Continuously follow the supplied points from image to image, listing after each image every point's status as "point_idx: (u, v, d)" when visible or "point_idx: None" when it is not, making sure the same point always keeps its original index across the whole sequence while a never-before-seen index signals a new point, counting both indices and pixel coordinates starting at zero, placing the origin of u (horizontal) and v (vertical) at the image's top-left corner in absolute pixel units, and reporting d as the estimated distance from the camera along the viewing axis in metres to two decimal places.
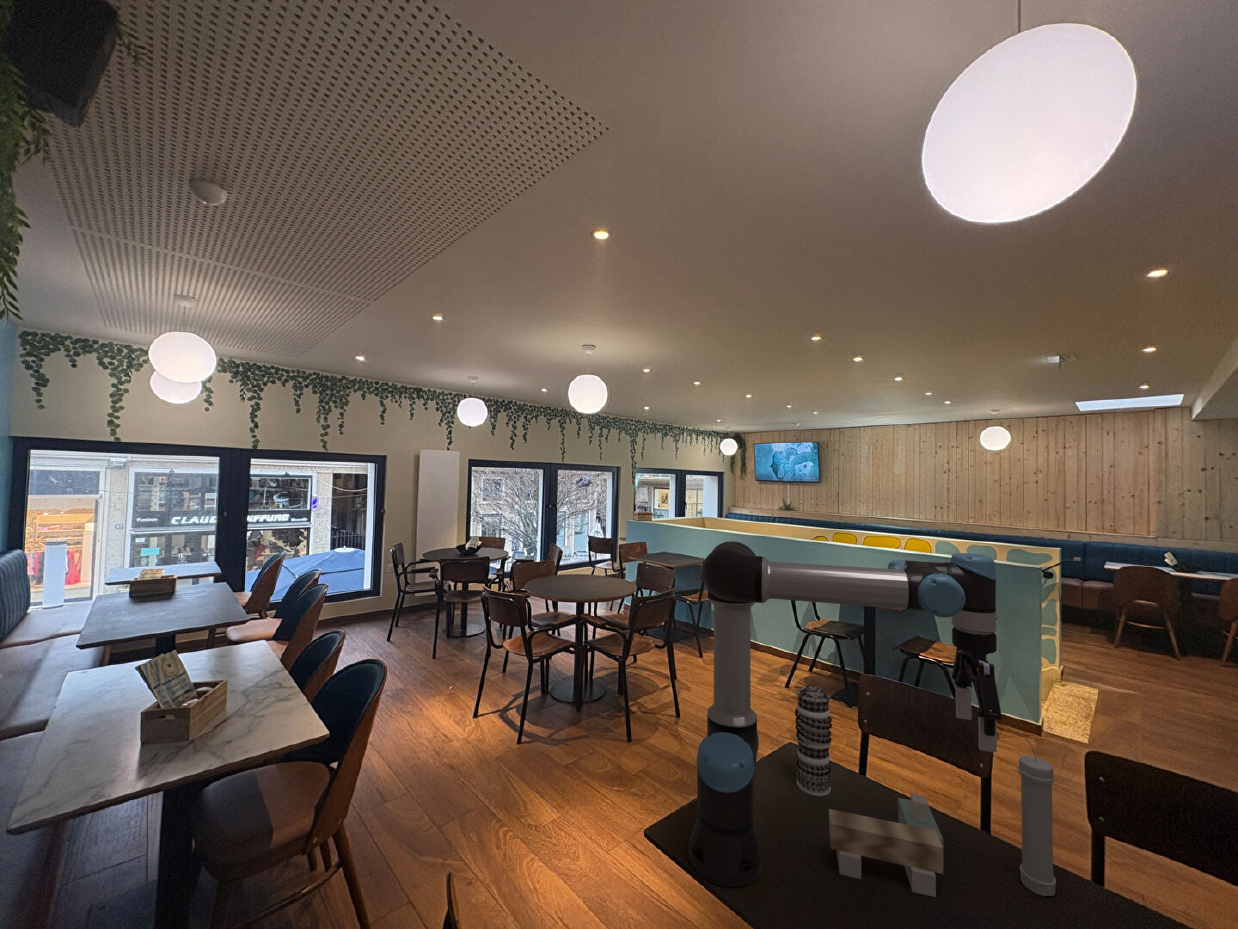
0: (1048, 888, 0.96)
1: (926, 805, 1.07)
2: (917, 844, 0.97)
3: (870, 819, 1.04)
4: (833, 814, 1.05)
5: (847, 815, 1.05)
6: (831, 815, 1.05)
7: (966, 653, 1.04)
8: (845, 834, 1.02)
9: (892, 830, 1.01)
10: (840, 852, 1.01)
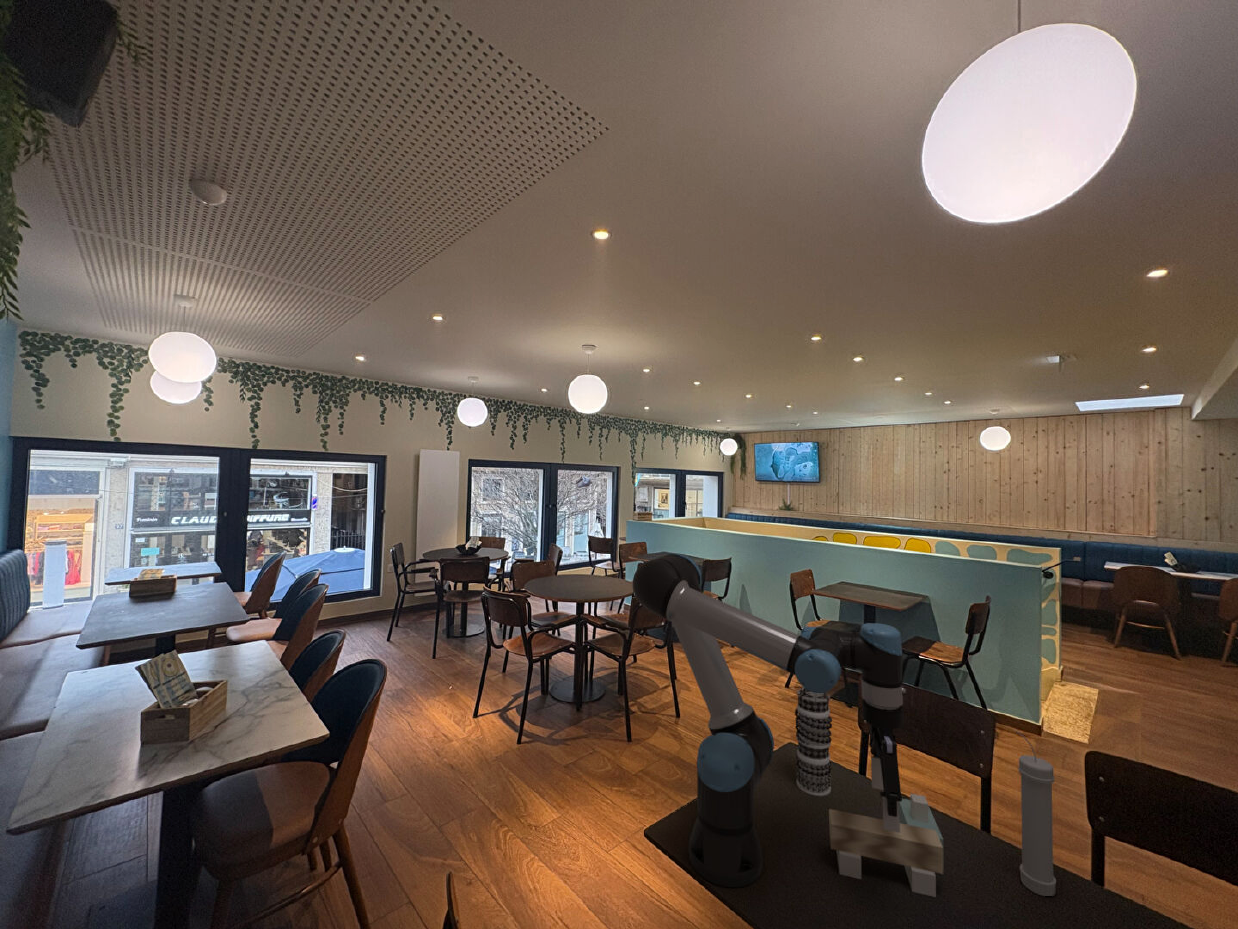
0: (1048, 888, 0.96)
1: (926, 805, 1.07)
2: (917, 844, 0.97)
3: (870, 819, 1.04)
4: (833, 814, 1.05)
5: (847, 815, 1.05)
6: (831, 815, 1.05)
7: (876, 726, 1.03)
8: (845, 834, 1.02)
9: None
10: (840, 852, 1.01)
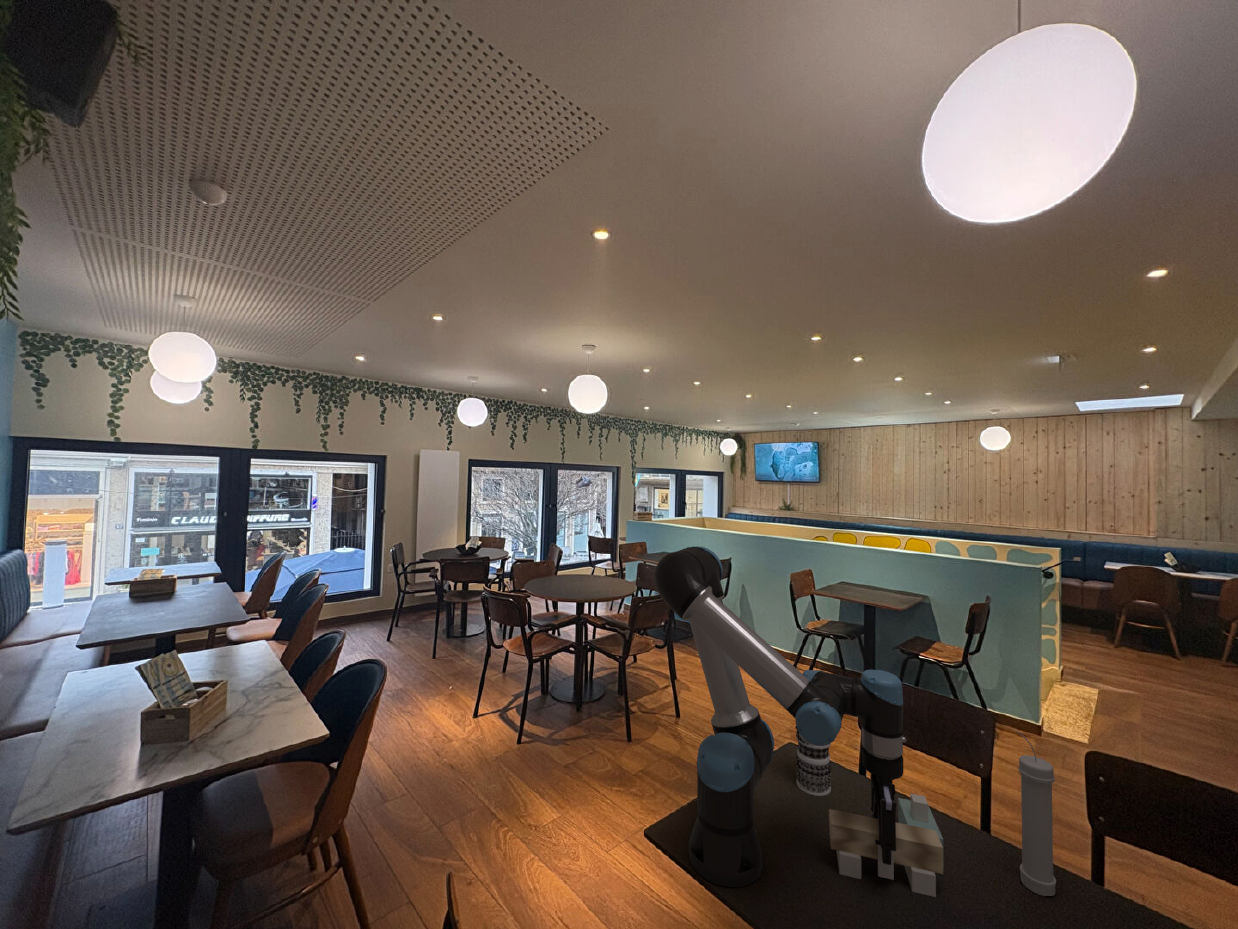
0: (1048, 888, 0.96)
1: (926, 805, 1.07)
2: (917, 844, 0.97)
3: (870, 819, 1.04)
4: (833, 814, 1.05)
5: (847, 815, 1.05)
6: (831, 815, 1.05)
7: None
8: (845, 834, 1.02)
9: None
10: (840, 852, 1.01)
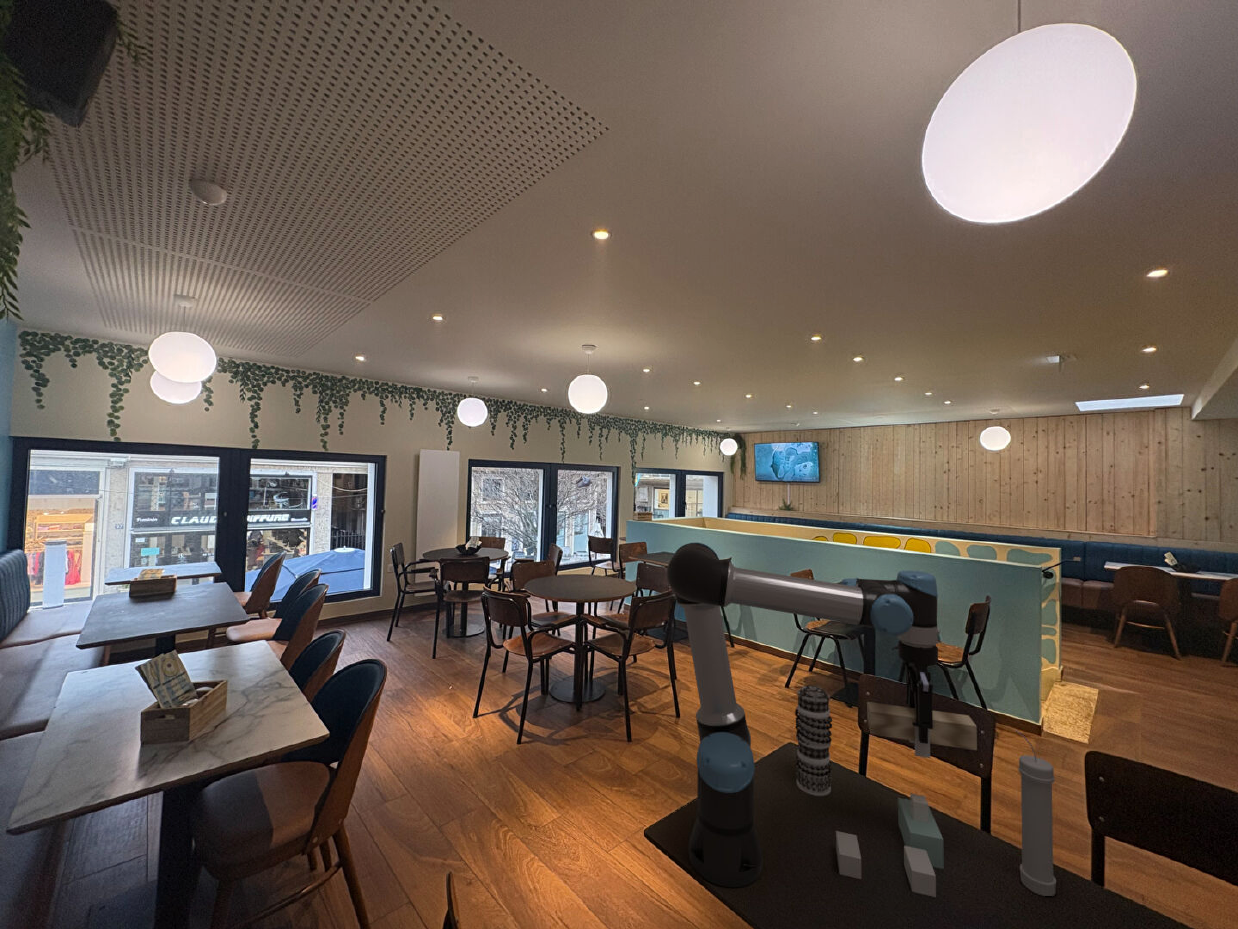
0: (1048, 888, 0.96)
1: (926, 805, 1.07)
2: (952, 724, 1.05)
3: (907, 708, 1.12)
4: (872, 705, 1.13)
5: (885, 705, 1.13)
6: (870, 705, 1.13)
7: None
8: (884, 719, 1.09)
9: None
10: (840, 852, 1.01)
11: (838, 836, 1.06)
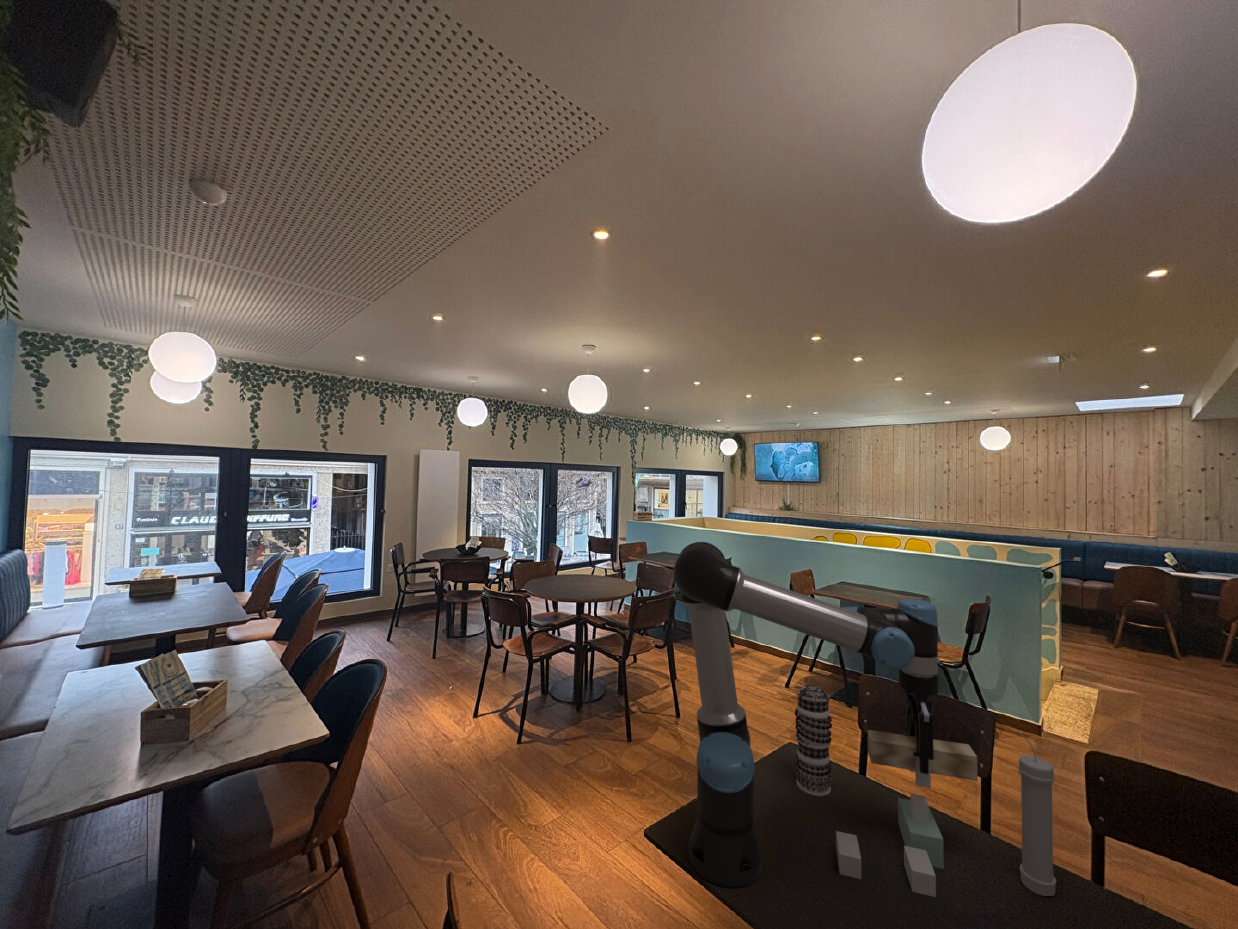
0: (1048, 888, 0.96)
1: (926, 805, 1.07)
2: (952, 755, 1.05)
3: (907, 737, 1.12)
4: (872, 734, 1.13)
5: (885, 734, 1.13)
6: (870, 734, 1.13)
7: None
8: (884, 749, 1.09)
9: None
10: (840, 852, 1.01)
11: (838, 836, 1.06)
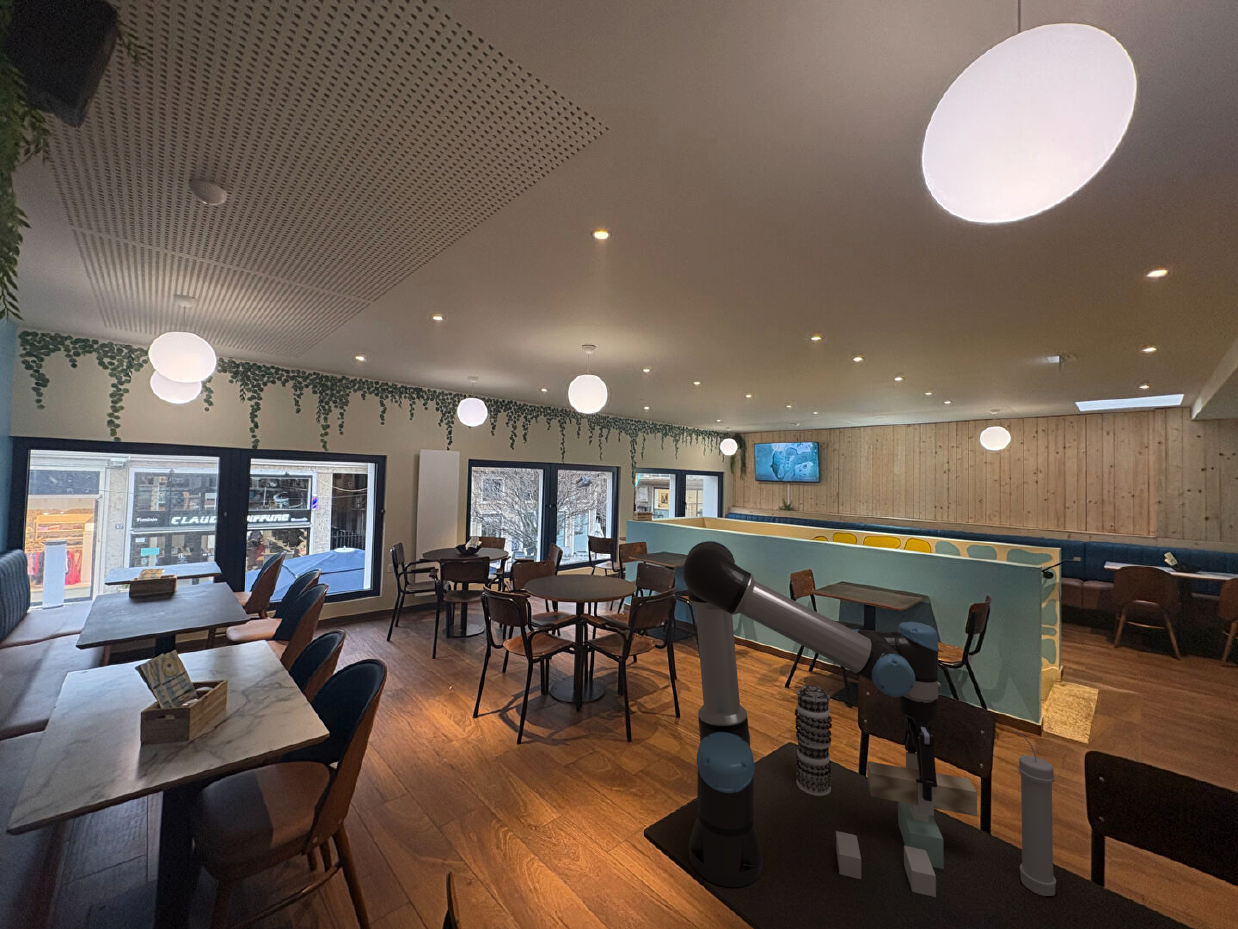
0: (1048, 888, 0.96)
1: None
2: (952, 789, 1.05)
3: (907, 769, 1.12)
4: (872, 765, 1.13)
5: (885, 766, 1.13)
6: (870, 766, 1.13)
7: None
8: (884, 782, 1.09)
9: None
10: (840, 852, 1.01)
11: (838, 836, 1.06)
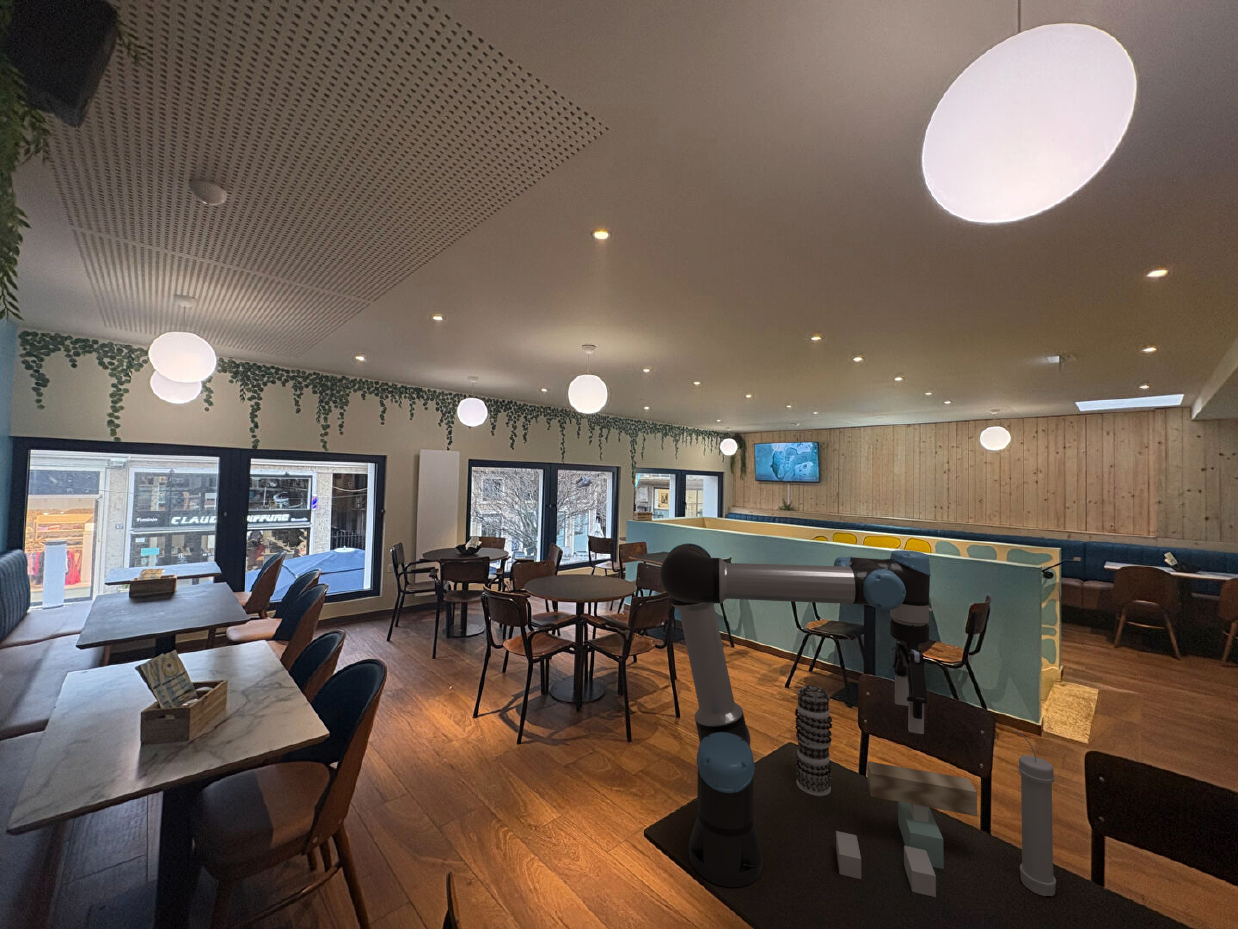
0: (1048, 888, 0.96)
1: None
2: (952, 789, 1.05)
3: (907, 769, 1.12)
4: (872, 765, 1.13)
5: (885, 766, 1.13)
6: (870, 766, 1.13)
7: (902, 643, 1.12)
8: (884, 782, 1.09)
9: (928, 778, 1.08)
10: (840, 852, 1.01)
11: (838, 836, 1.06)
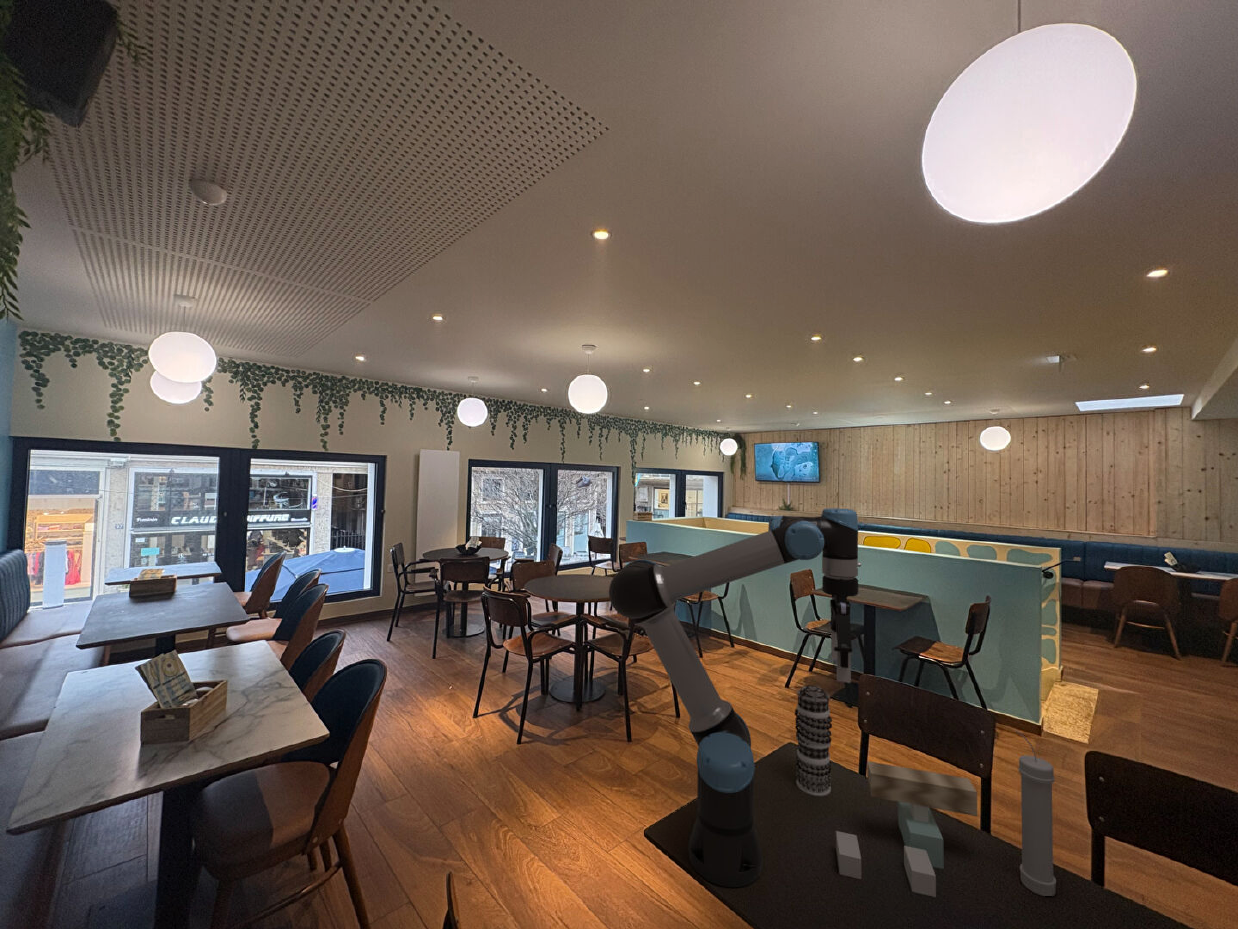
0: (1048, 888, 0.96)
1: None
2: (952, 789, 1.05)
3: (907, 769, 1.12)
4: (872, 765, 1.13)
5: (885, 766, 1.13)
6: (870, 766, 1.13)
7: (834, 598, 1.15)
8: (884, 782, 1.09)
9: (928, 778, 1.08)
10: (840, 852, 1.01)
11: (838, 836, 1.06)
